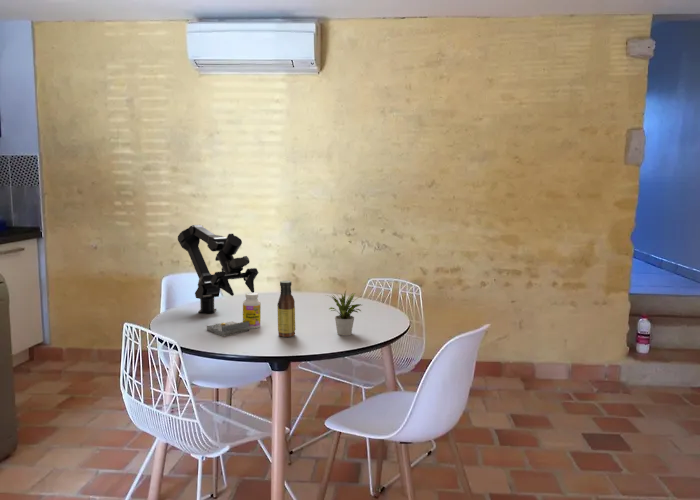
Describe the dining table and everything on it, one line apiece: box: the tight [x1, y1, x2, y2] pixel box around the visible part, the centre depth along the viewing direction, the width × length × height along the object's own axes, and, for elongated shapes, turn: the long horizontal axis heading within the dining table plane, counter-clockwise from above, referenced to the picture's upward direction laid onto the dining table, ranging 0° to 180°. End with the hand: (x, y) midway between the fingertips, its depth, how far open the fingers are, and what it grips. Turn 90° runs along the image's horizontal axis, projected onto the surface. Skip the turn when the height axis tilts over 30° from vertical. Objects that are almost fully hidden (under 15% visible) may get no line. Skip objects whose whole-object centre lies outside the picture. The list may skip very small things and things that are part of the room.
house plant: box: [326, 289, 363, 336], centre depth 197 cm, size 14×14×16 cm
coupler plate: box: [206, 321, 250, 337], centre depth 201 cm, size 11×11×4 cm
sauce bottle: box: [277, 280, 296, 338], centre depth 194 cm, size 6×6×20 cm
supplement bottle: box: [242, 292, 262, 330], centre depth 206 cm, size 7×7×13 cm
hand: (243, 293), depth 209 cm, fingers open, 9 cm apart
